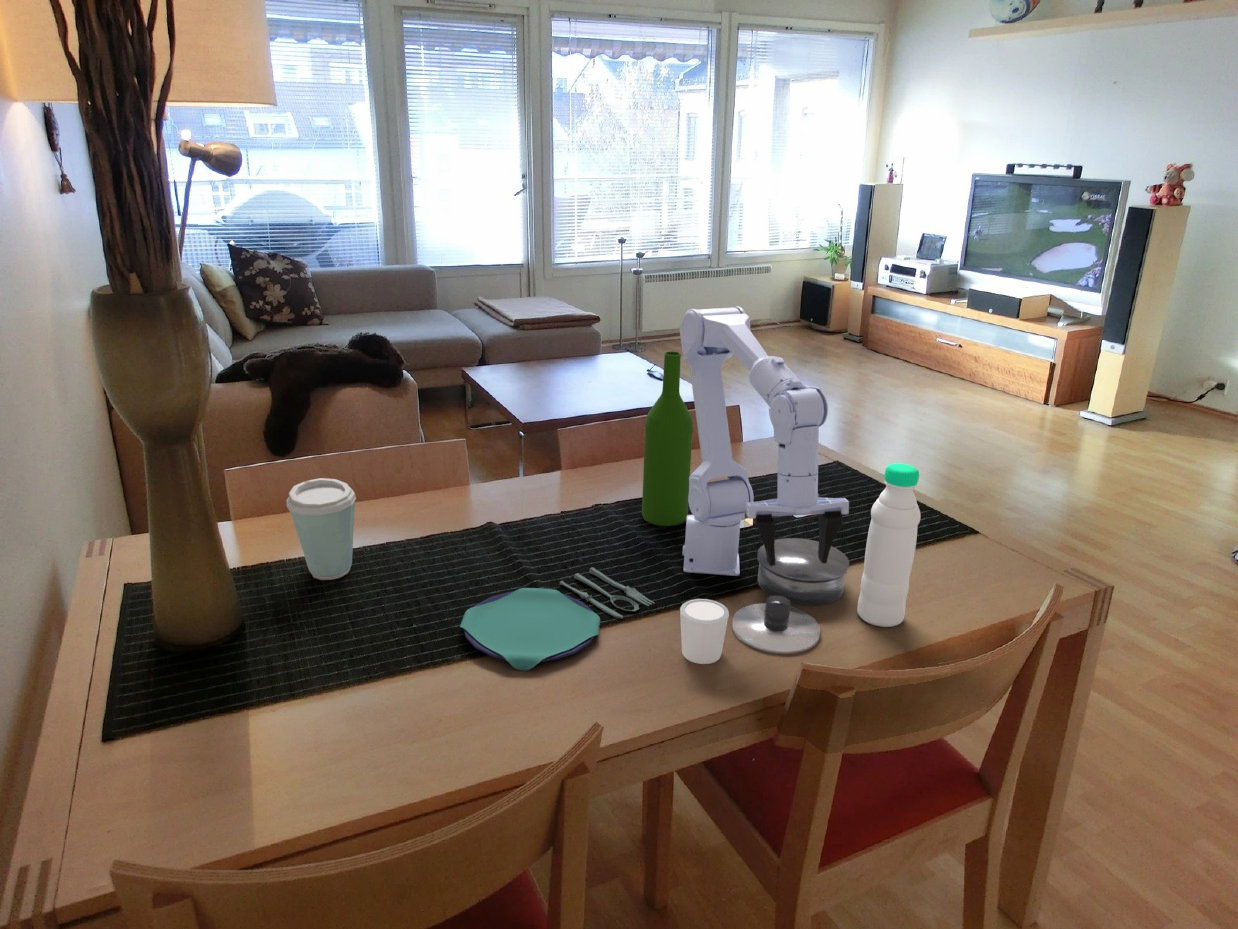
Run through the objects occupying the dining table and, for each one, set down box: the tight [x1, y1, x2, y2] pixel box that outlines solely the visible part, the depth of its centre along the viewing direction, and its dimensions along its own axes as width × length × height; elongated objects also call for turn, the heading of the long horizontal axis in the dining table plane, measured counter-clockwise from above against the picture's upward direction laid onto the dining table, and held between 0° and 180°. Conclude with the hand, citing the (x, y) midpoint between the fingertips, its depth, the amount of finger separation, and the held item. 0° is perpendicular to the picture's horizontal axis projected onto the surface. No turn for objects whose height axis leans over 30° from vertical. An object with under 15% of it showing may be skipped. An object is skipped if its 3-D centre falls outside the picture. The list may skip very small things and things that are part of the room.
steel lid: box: [731, 595, 821, 655], centre depth 128 cm, size 13×13×5 cm
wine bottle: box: [641, 351, 694, 527], centre depth 161 cm, size 9×9×32 cm
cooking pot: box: [757, 537, 850, 607], centre depth 142 cm, size 15×15×5 cm
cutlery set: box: [459, 567, 655, 672], centre depth 130 cm, size 20×30×2 cm, turn 134°
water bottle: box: [856, 462, 922, 628], centre depth 129 cm, size 7×7×25 cm
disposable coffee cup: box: [285, 477, 357, 581], centre depth 139 cm, size 11×11×15 cm
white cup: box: [679, 598, 730, 665], centre depth 121 cm, size 7×7×7 cm
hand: (796, 562), depth 126 cm, fingers open, 7 cm apart
